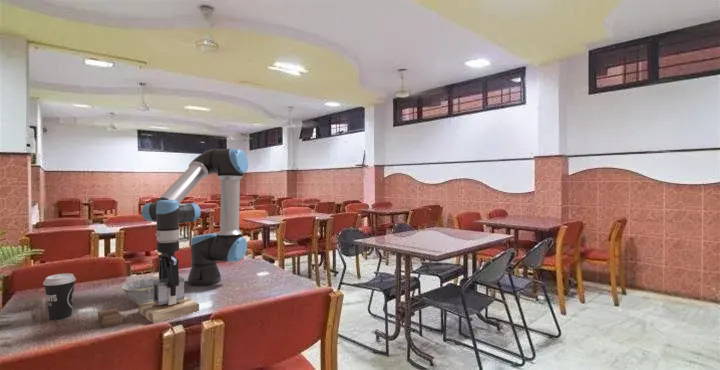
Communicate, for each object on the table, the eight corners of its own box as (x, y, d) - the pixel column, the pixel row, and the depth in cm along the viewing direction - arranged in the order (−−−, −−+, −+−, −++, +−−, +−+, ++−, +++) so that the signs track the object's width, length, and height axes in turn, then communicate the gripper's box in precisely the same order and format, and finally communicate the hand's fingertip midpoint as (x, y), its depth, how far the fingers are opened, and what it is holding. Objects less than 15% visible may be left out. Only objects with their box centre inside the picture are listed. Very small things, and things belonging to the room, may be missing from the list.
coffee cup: (56, 312, 144) (55, 273, 143) (82, 311, 144) (82, 272, 144) (36, 322, 134) (35, 280, 134) (65, 321, 135) (64, 279, 135)
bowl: (135, 311, 145) (135, 291, 145) (114, 304, 154) (114, 285, 153) (175, 299, 159) (174, 281, 159) (153, 293, 167) (153, 276, 167)
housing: (178, 296, 149) (177, 275, 149) (184, 299, 145) (183, 278, 145) (153, 301, 143) (152, 280, 142) (158, 305, 138) (158, 283, 138)
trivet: (138, 312, 143) (138, 304, 143) (182, 302, 155) (182, 294, 155) (153, 323, 132) (153, 314, 132) (199, 311, 144) (199, 303, 144)
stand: (97, 320, 136) (97, 311, 136) (114, 316, 139) (113, 308, 139) (105, 327, 129) (105, 319, 129) (122, 323, 133) (121, 315, 132)
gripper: (148, 239, 147) (149, 299, 148) (166, 245, 134) (167, 310, 134) (168, 237, 153) (169, 294, 153) (188, 242, 139) (189, 305, 140)
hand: (168, 302), depth 144 cm, fingers closed on housing, 6 cm apart
